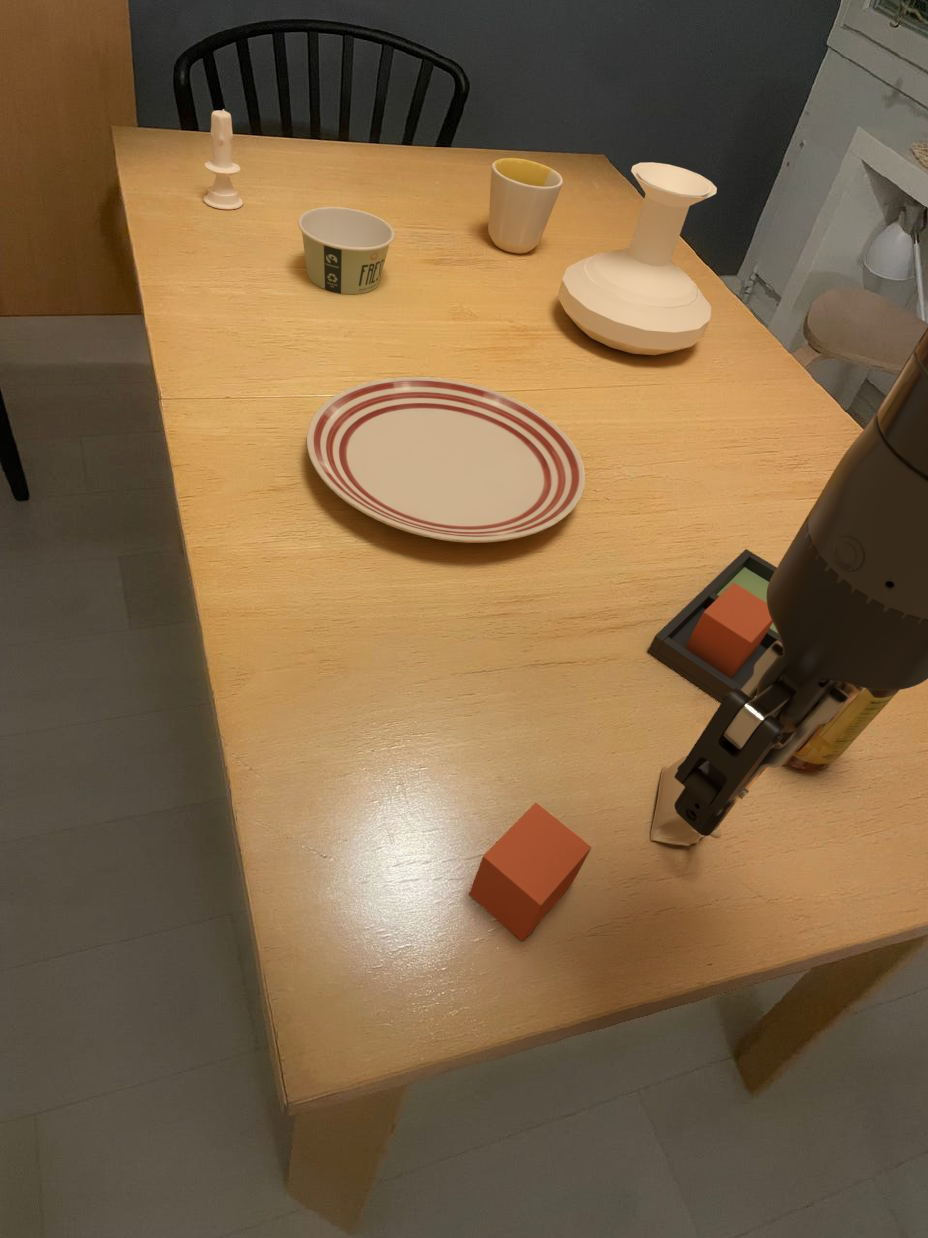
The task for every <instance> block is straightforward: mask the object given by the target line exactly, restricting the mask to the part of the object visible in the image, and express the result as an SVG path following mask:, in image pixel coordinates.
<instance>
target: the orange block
mask: <svg viewBox="0 0 928 1238" xmlns="http://www.w3.org/2000/svg"><path fill="white" fill-rule="evenodd" d="M591 850H592V846H591V845H590V844H589V843H587V842H586V841H585V840H583V839H582V838H581V837H580V836H578V835H577V834H576V833H575V832H574V831H572V830H571V829H570V828H568V827H567V826H566V825H565V824H563V822H561V821H560V820H558V819H557V818H556V817H555V816H554V815H552V814H551V813H550V812H549V811H548V810H546V808H544V807H542V806H541V805H540V804H539V803H538V802H534V803H533V804H532V806H531V807H529V809H528V810H526V812H524V813H523V814H522V816H521V817H520V818H518V820H517V821H516V822H514V824H513V825H511V827H510V828H508V830H507V831H506V832H504V834H503V835H502V836H501V837H500V838H499V839H498V840H496V842H495V843H494V844H493V845H492V846H491V847H490V848H489V849H488V850H487V851H486V852H485V853H484V854H483V855H482V858H481V861H480V864H479V866H478V869H477V871H476V874H475V877H474V880H473V883H472V885H471V888H470V890H469V893H468V895H469V896H470V897H471V898H472V899H474V901H476V902H477V903H478V904H479V905H480V906H481V907H482V908H484V909H485V910H486V911H487V912H489V914H490V915H491V916H493V917H494V918H495V919H496V920H497V921H498V922H500V924H502V925H503V926H504V927H505V928H506V929H508V931H510V932H511V933H512V934H513V935H514V936H515V937H516V938H518V939H519V940H520V941H521V942H524V941H525V940H526V939H527V937H528V936H529V935H530V934H531V933H532V932H533V930H534V929H535V928H536V927H537V926H538V925H539V923H540V922H541V921H542V920H543V919H544V918H545V917H546V915H547V914H548V913H549V912H550V911H551V909H552V908H554V906H555V905H556V904H557V903H558V901H559V900H560V899H561V898H562V897H563V895H564V894H565V893H566V892H567V891H568V890H569V888H570V887H571V886H572V885H573V883H574V881H575V879H576V878H577V875H578V874H579V872H580V870H581V868H582V867H583V864H584V863H585V861H586V859H587V857H588V856H589V853H590V851H591Z"/></svg>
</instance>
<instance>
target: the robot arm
mask: <svg viewBox="0 0 928 1238" xmlns="http://www.w3.org/2000/svg"><path fill="white" fill-rule="evenodd" d="M776 567H777V569H776V570H775V572H774V574H773V575H772V577H771V579H770V581H769V584H768V588H767V597H766V598H767V606H768V611H769V614H770V617H771V619H772V621H773V623H774V625H775V627H776V630H777V632H778V634H779V637H780V639H781V642H782V643H781V642H779V641H778V640H777V641H775V642H774V643H773V644H772V645H771V646H770V647H769V648H768V649H767V650H766V651H765V653H764V654H763V655H762V656H761V657H760V659H759V660H758V661H757V662H756V663H755V665H754V674H753V676H752V677H751V678H750V679H749V680H748V682H747V683H746V684H745V685H744V686H743V688H742V689H741V690H740V689H739V688H735V689H734V690H733V691H732V692H731V693H730V692H728V693H727V694H726V695H725V696H724V697H723V698H722V700H721V701H722V703H721V702H720V704H719V706H718V708H717V709H716V710H715V713H714V714H713V715H712V717H711V719H710V720H709V721H708V723H707V725H706V726H705V728H704V730H703V731H702V732H701V734H700V736H699V737H698V739H697V740H696V742H695V743H694V745H693V747H692V748H691V749H690V751H689V752H688V754H687V755H688V756H687V755H686V756H687V757H686V759H685V760H684V762H683V763H681V764H680V766H679V767H678V768H677V770H678V771H677V773H676V774H675V776H674V778H675V779H677V780H678V781H679V782H680V783H681V784H682V785H683V786H684V787H685V788H684V789H683V791H682V793H681V794H680V796H679V797H678V799H677V800H676V802H675V805H674V806H675V810H676V813H677V814H678V815H680V816H681V817H682V818H683V819H684V820H685V821H686V822H687V823H688V824H689V825H690V826H691V827H693V828H694V829H695V830H696V831H697V832H698V833H700V834H701V835H703V836H704V837H709V836H710V834H711V833H712V832H713V831H714V830H715V829H716V828H718V826H719V827H720V825H721V824H722V822H723V821H724V820H725V818H726V817H727V816H728V814H729V813H730V811H731V810H732V808H733V807H734V806H735V804H736V803H737V802H738V800H743V799H744V798H745V797H746V796H747V795H748V794H749V793H750V790H749V789H750V787H751V786H752V785H753V784H754V783H755V782H756V781H757V779H758V778H759V777H760V776H761V775H762V774H763V773H764V772H765V770H766V769H767V768H772V769H774V768H780V767H783V766H785V765H787V764H786V763H787V762H788V761H789V760H790V758H791V757H792V756H793V755H794V754H795V753H796V752H799V751H800V750H801V749H802V748H803V747H804V746H806V745H807V743H808V742H809V741H810V739H811V738H812V737H813V735H814V734H815V733H816V732H817V730H818V729H819V728H820V726H821V725H822V724H827V723H829V722H831V721H832V720H833V719H834V718H835V717H836V716H837V714H838V713H839V712H840V711H841V710H842V709H843V708H844V707H845V705H849V704H850V703H851V702H852V701H853V700H854V699H855V698H856V697H857V696H859V695H860V694H861V693H862V692H863V691H864V689H865V688H867V689H873V690H887V691H891V690H899V691H901V690H902V691H903V690H907V689H910V688H913V687H916V686H918V685H920V684H922V683H924V682H926V681H927V680H928V327H927V328H926V330H925V331H924V332H923V334H922V335H921V337H920V339H919V340H918V341H917V344H916V345H915V346H914V348H913V350H912V352H911V353H910V355H909V357H908V359H907V360H906V362H905V363H904V365H903V366H902V368H901V370H900V372H899V373H898V375H897V377H896V378H895V380H894V382H893V383H892V384H891V387H890V388H889V390H888V391H887V393H886V396H885V397H884V399H883V400H882V402H881V403H880V405H879V408H878V409H877V411H876V412H875V414H874V415H873V417H872V418H871V419H870V421H869V422H868V423H867V425H866V426H865V428H864V429H863V430H862V432H860V434H859V435H858V436H857V437H856V438H855V440H854V441H853V442H852V443H851V445H850V446H849V447H848V449H847V450H846V451H845V453H844V454H843V455H842V458H841V459H840V460H839V462H838V464H837V465H836V467H835V469H834V470H833V472H832V474H831V475H830V477H829V479H828V480H827V482H826V484H825V485H824V487H823V489H822V491H821V492H820V494H819V496H818V497H817V499H816V500H815V503H814V504H813V506H812V507H811V509H810V511H809V512H808V514H807V516H806V517H805V519H804V521H803V523H802V524H801V526H800V527H799V529H798V531H797V533H796V534H795V536H794V538H793V540H792V541H791V543H790V545H789V546H788V548H787V549H786V551H785V553H784V554H783V557H782V558H781V559H780V562H779V563H778V566H776ZM778 742H780V743H781V744H782V745H781V746H777V745H776V744H777V743H778Z"/></svg>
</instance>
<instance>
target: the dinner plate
mask: <svg viewBox="0 0 928 1238" xmlns="http://www.w3.org/2000/svg"><path fill="white" fill-rule="evenodd" d="M306 447H307V453H308V456H309V459H310V462H311V465H312V466H313V468H314V470H315V471H316V473H317V474H318V477H319V478H320V479H321V480H322V481H323V482H324V484H325V485H326V486H327V487H328V488H329V489H330V490H331V491H332V492H334V493H335V495H337V496H338V497H339V498H340V499H341V500H343V501H344V502H346V503H347V504H348V505H350V506H352V507H353V508H354V509H356V510H358V511H359V512H361V513H363V514H364V515H366V516H368V517H370V518H371V519H374V520H376V521H379V522H381V523H383V524H385V525H387V526H389V527H392V528H395V529H397V530H399V531H400V530H401V531H403V532H406V533H410V534H413V535H417V536H421V537H425V538H431V539H435V540H440V541H448V542H456V543H457V542H458V543H470V544H471V543H472V544H473V543H475V544H477V543H478V544H482V543H495V542H504V541H510V540H516V539H521V538H524V537H528V536H531V535H534V534H537V533H539V532H542V531H544V530H546V529H548V528H551V527H553V526H555V525H556V524H557V523H559V522H560V521H562V520H563V519H565V517H567V516H568V515H569V514H570V513H571V512H572V511H573V510H574V508H576V506H577V504H578V503H579V502H580V500H581V498H582V496H583V493H584V490H585V485H586V472H585V471H586V470H585V466H584V461H583V460H582V457H581V455H580V453H579V450H578V448H577V447H576V446H575V444H574V443H573V441H572V440H571V439H570V437H569V436H568V435H567V434H566V433H565V432H564V431H563V429H561V428H560V427H558V425H557V424H555V423H554V422H553V421H552V420H550V419H549V418H548V417H547V416H546V415H543V414H542V413H541V412H539V411H538V410H536V409H535V408H533V407H531V406H529V404H526V403H525V402H523V401H521V400H519V399H516V398H514V397H512V396H510V395H507V394H505V393H502V392H500V391H496V390H494V389H491V388H487V387H485V386H482V385H477V384H473V383H468V382H466V381H465V382H464V381H460V380H454V379H448V378H439V377H431V376H430V377H429V376H427V377H426V376H399V377H389V378H382V379H376V380H371V381H366V382H364V383H360V384H357V385H354V386H351V387H349V388H346V389H344V390H342V391H340V392H339V393H336V394H334V395H333V396H332V397H331V398H329V399H328V400H327V401H325V402H324V403H322V405H321V406H320V407H319V408H318V410H316V412H315V414H314V415H313V417H312V418H311V420H310V422H309V425H308V429H307V433H306Z"/></svg>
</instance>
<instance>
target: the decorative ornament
mask: <svg viewBox="0 0 928 1238" xmlns="http://www.w3.org/2000/svg"><path fill="white" fill-rule="evenodd" d="M687 756H688V754H687V755H685V756H683V757H681V758H679V759H678V760H676V761H675V762H674V763H672V764H671V765H664V766H662V770H661V773H660V774H661V775H660V780H659V787H658V794H657V800H656V807H655V811H654V816H653V819H652V825H651V830H650V841H652V842H656V843H662V844H669V845H674V846H684V847H689V846H692V845H695V844H697V843H699V841H700V839H701V838H704V837H705V836H703V835H701V834H700V833H698V832H697V831H696V830H695V829H694V828H693V827H691V826H690V825H689V824H688V823H687V822H686V821H685V820H684V819H683V818H682V817H681V816H680V815H678V814H677V813H676V810H675V806H674V805H675V802H676V800H677V799H678V797H679V796H680V794H681V793H682V791H683V789H684V788H685V787H684V786H683V785H682V784H681V783H680V782H679V781H678V780H677V779H675V778H674V776H675V774H676V773H677V771H678V770H677V768H678V767H679V766H680V764H681V763H683V762H684V760H685V759H686V757H687ZM722 833H723V832H722V829H721V827H720V825H719V826H718V828H716V829H715V830H714V831H713V832H712V833H711V834H710V835H709V836H710V837H711V838H714V839H720V838H721V837H722Z"/></svg>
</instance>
